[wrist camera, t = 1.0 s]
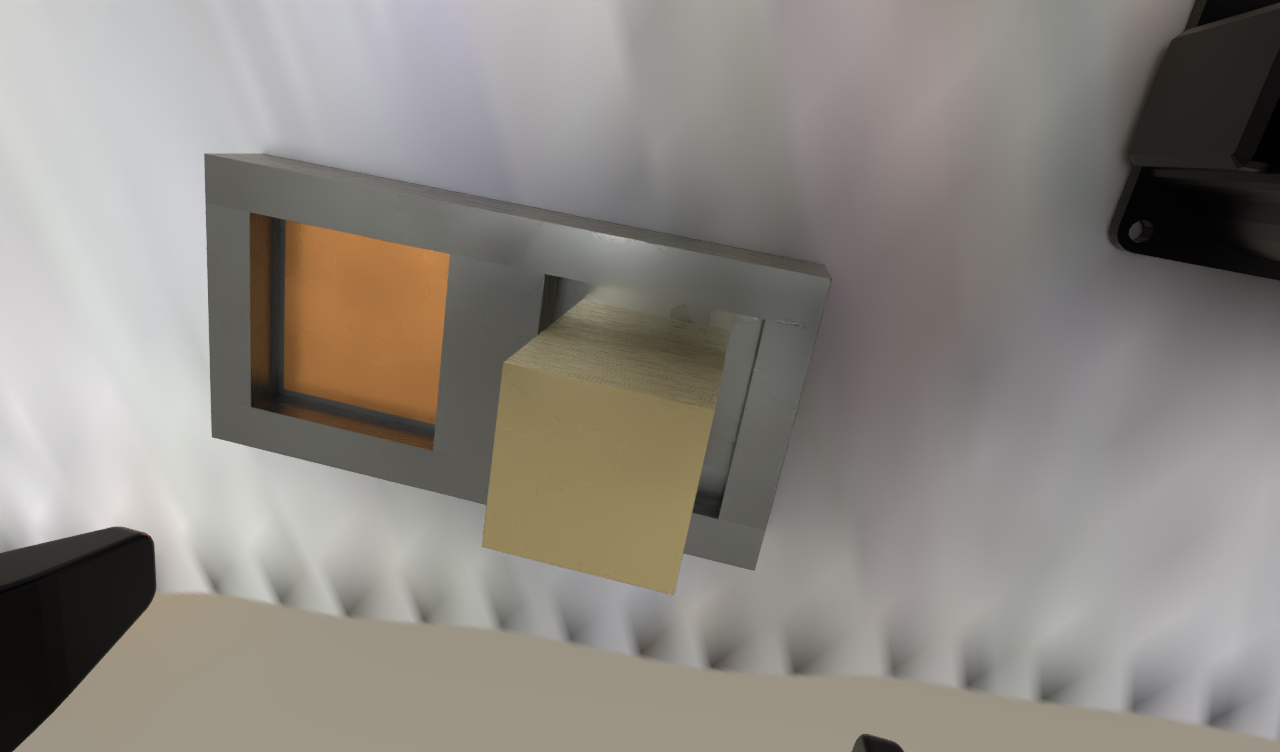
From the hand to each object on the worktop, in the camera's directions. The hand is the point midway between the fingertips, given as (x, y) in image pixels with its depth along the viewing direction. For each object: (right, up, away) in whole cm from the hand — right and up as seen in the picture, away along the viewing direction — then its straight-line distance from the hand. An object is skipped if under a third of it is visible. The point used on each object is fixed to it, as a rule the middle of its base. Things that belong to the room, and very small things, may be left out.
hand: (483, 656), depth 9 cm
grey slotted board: (-2, +4, +12) cm, 13 cm away
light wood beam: (+2, +3, +11) cm, 11 cm away
